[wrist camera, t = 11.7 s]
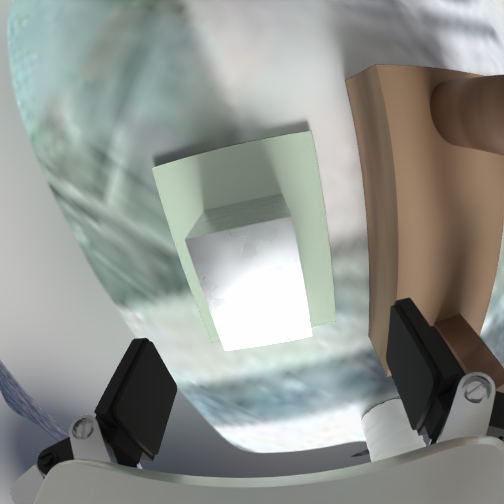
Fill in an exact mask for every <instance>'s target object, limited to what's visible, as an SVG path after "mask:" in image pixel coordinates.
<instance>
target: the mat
mask: <svg viewBox="0 0 504 504" xmlns="http://www.w3.org/2000/svg"><path fill="white" fill-rule="evenodd" d="M152 170H153V174H154V178H155V181H156V185H157V188H158V192H159V195H160V198H161V202H162V205H163V208H164V212H165V215H166V218H167V221H168V224H169V228H170V231H171V234H172V237H173V240H174V243H175V246H176V249H177V252H178V255H179V258H180V261H181V264H182V266H183V269H184V272H185V275H186V278H187V281H188V283H189V286H190V289H191V292H192V294H193V297H194V300H195V302H196V305H197V308H198V310H199V313H200V315H201V318H202V321H203V323H204V326H205V328H206V331H207V333H208V336H209V338H210V341H211V343H214V342H222V341H221V339H220V336H219V334H218V331H217V329H216V326H215V323H214V321H213V318H212V316H211V313H210V310H209V308H208V305H207V302H206V299H205V297H204V294H203V291H202V288H201V286H200V283H199V280H198V277H197V274H196V272H195V269H194V266H193V263H192V260H191V257H190V254H189V251H188V248H187V245H186V242H185V238H186V237H187V235H188V234H189V232H190V231H191V229H192V227H193V226H194V224H195V223H196V221H197V220H198V218H199V217H200V215H201V214H202V212H203V211H205V210H209V209H213V208H217V207H221V206H226V205H230V204H234V203H239V202H243V201H248V200H252V199H257V198H262V197H266V196H271V195H276V194H281V193H282V194H283V196H284V198H285V201H286V203H287V206H288V208H289V210H290V213H291V215H292V219H293V224H294V230H295V235H296V241H297V246H298V252H299V258H300V263H301V269H302V275H303V281H304V288H305V294H306V300H307V307H308V314H309V321H310V327H313V326H318V325H323V324H327V323H332V322H336V313H335V299H334V286H333V275H332V265H331V255H330V246H329V238H328V229H327V222H326V214H325V207H324V200H323V194H322V187H321V181H320V175H319V169H318V163H317V158H316V152H315V147H314V142H313V136H312V131H305V132H299V133H293V134H287V135H281V136H276V137H270V138H265V139H260V140H255V141H251V142H246V143H241V144H237V145H233V146H228V147H224V148H220V149H216V150H212V151H208V152H204V153H200V154H197V155H193V156H189V157H186V158H182V159H179V160H175V161H172V162H169V163H165V164H162V165H159V166H156V167H153V168H152Z"/></svg>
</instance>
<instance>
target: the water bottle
mask: <svg viewBox="0 0 504 504" xmlns="http://www.w3.org/2000/svg"><path fill="white" fill-rule="evenodd" d="M361 424H362V428H363V432H364V435H365V438H366V442H367V447H368V449H369V451H370V458H371V462H374V461H378V460H382V459H386V458H389V457H393V456H396V455H400V454H403V453H406V452H409V451H412V450H416V449H419V448H422V447H426V445H425V443H424V442H423V437H422V435H420V436H418V433H417V430H412V428H411V426H410V423H409V420H408V417H407V414H406V411H405V409H404V406H403V403H402V401H401V399H398V400H397V399H392V400H389V401H386V402H384V403H383V404H379V405H377V406H375V407H374V408H372V409H371V410H370V412H367V413H366V414H365V415H364V417H363V418H362V422H361Z"/></svg>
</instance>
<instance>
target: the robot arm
mask: <svg viewBox="0 0 504 504" xmlns="http://www.w3.org/2000/svg"><path fill="white" fill-rule="evenodd" d="M386 362H387V365H388V367H389V370H390V372H391V375H392V377H393V380H394V382H395V385H396V388H397V390H398V393H399V395H400V398H401V401H402V403H403V406H404V409H405V411H406V414H407V417H408V420H409V423H410V426H411V428H412V430H417V433H418V436H420V435H423V434H425V433H427V434H428V437H429V438H430V439H431V440H430V443H429V445H428V446H426V447H422V448H419V449H416V450H412V451H409V452H406V453H403V454H400V455H396V456H393V457H389V458H386V459H382V460H378V461H374V462H370V463H366V464H362V465H357V466H352V467H347V468H343V469H338V470H332V471H325V472H319V473H311V474H303V475H294V476H282V477H267V478H216V477H200V476H187V475H178V474H170V473H163V472H157V471H150V470H145V469H142V467H141V465H140V463H139V461H140V458H141V459H144V460H149V461H153V459H154V456H155V455H157V454H158V452H159V449H160V445H161V442H162V438H163V435H164V432H165V428H166V425H167V422H168V418H169V415H170V412H171V408H172V405H173V402H174V398H175V395H176V392H177V385H176V383H175V381H174V380H173V378H172V376H171V374H170V373H169V371H168V369H167V368H166V366H165V364H164V362H163V360H162V359H161V357H160V355H159V353H158V351H157V349H156V348H155V346H154V344H153V342H151V341H149V340H148V339H147V338H139V339H133V341H132V342H131V344H130V346H129V348H128V349H127V351H126V353H125V354H124V356H123V358H122V360H121V362H120V364H119V366H118V367H117V369H116V371H115V373H114V375H113V377H112V378H111V380H110V382H109V384H108V386H107V388H106V390H105V392H104V394H103V396H102V397H101V399H100V401H99V403H98V405H97V407H96V409H95V411H94V412H95V413H96V418H94V417H93V416H91V415H83V416H80V417H78V418H77V419H76V420H75V421H74V422H73V423H72V425H71V426H70V430H69V436H70V437H68V438H66V439H64V440H62V441H60V442H58V443H56V444H54V445H52V446H50V447H48V448H46V449H45V450H43V451H42V452H41V453H40V455H39V457H38V466H37V465H34V466H32V467H31V468H30V469H29V470H28V471H27V472H26V473H24V475H22V476H21V477H20V478H19V479H18V480H17V481H15V482H14V483H13V485H12V487H11V496H12V499H13V501H14V503H15V504H504V393H502V392H499V391H495V384H494V382H493V380H492V379H491V378H490V377H489V376H488V375H486V374H484V373H481V372H473V373H469V374H467V375H466V374H465V372H464V370H463V369H462V367H461V366H460V364H459V362H458V361H457V359H456V357H455V356H454V354H453V353H452V351H451V350H450V348H449V347H448V345H447V343H446V342H445V340H444V339H443V337H442V336H441V334H440V333H439V331H438V330H437V329H436V328H435V327H434V326H430V325H429V323H428V322H427V321H426V319H425V318H424V316H423V315H422V313H421V312H420V310H419V309H418V308H417V306H416V305H415V303H414V302H413V301H412V299H411V298H409V297H408V298H404V299H400V300H396V301H395V303H394V305H392V306H391V308H390V321H389V332H388V342H387V351H386Z"/></svg>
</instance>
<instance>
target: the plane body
mask: <svg viewBox="0 0 504 504" xmlns="http://www.w3.org/2000/svg"><path fill="white" fill-rule="evenodd" d="M345 82H346V86H347V91H348V95H349V100H350V105H351V109H352V114H353V120H354V125H355V130H356V136H357V142H358V148H359V155H360V162H361V169H362V177H363V186H364V195H365V205H366V216H367V230H368V247H369V280H370V305H369V338H370V340H371V342H372V344H373V347H374V349H375V351H376V353H377V355H378V358H379V360H380V362H381V364H382V367H383V369H384V371H385V374H386V376H387V377H389V376H392V375H391V372H390V370H389V367H388V365H387V362H386V351H387V342H388V332H389V321H390V308H391V306H392V305H394V303H395V301H396V300H400V299H404V298H408V297H409V298H411V299H412V301H413V302H414V303H415V305H416V306H417V308H418V309H419V310H420V312H421V313H422V315H423V316H424V318H425V319H426V321H427V322H428V323H429V325H430V326H434V327H435V328H436V329H437V330H438V331H439V333H440V334H441V336H442V337H443V339H444V340H445V342H446V343H447V345H448V347H449V348H450V350H451V351H452V353H453V354H454V356H455V357H456V359H457V361H458V362H459V364H460V366H461V367H462V369H463V370H464V372H465V374H466V375H467V374H469V373H473V372H481V373H484V374H486V375H488V376H489V377H490V378H491V379H492V380H493V382H494V384H495V391H499V392H502V393H504V368H503V367H502V365H501V364H500V363H499V361H498V360H497V359H496V357H495V356H494V355H493V353H492V352H491V351H490V349H489V348H488V347H487V346H486V344H485V343H484V342H483V340H482V339H481V338H480V337H479V335H480V332H481V329H482V326H483V323H484V320H485V316H486V313H487V309H488V305H489V302H490V298H491V294H492V290H493V285H494V281H495V276H496V271H497V266H498V260H499V254H500V248H501V240H502V232H503V223H504V75H494V76H483V75H478V74H473V73H467V72H461V71H455V70H448V69H440V68H431V67H421V66H407V65H374V66H372V67H370V68H368V69H366V70H364V71H362V72H360V73H359V74H357V75H355V76H353V77H351V78H349V79H348V80H346V81H345Z"/></svg>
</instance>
